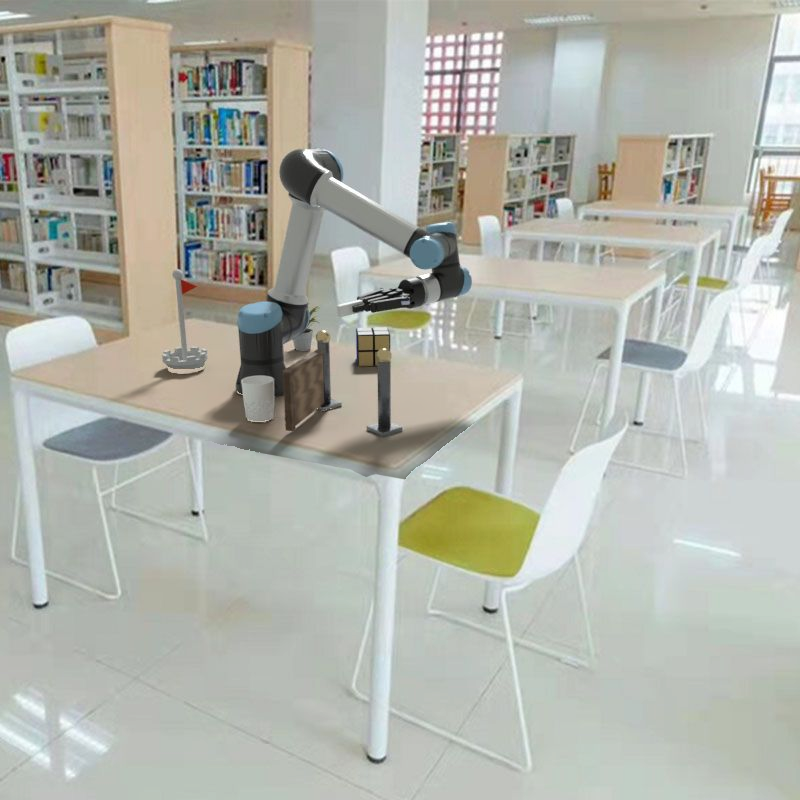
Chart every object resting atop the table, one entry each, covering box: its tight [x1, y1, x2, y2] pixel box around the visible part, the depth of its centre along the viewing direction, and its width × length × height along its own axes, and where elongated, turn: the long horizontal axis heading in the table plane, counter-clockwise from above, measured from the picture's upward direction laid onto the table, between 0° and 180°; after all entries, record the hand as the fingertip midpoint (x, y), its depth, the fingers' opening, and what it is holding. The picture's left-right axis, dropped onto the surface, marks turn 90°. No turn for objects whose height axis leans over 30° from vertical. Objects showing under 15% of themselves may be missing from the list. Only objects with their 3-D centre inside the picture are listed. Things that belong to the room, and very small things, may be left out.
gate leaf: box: [283, 349, 324, 432], centre depth 185 cm, size 20×2×14 cm, turn 163°
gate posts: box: [315, 329, 403, 438], centre depth 187 cm, size 30×6×20 cm, turn 41°
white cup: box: [241, 375, 275, 421], centre depth 188 cm, size 8×8×10 cm
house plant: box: [292, 302, 322, 352], centre depth 250 cm, size 14×14×16 cm
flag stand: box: [161, 269, 209, 369], centre depth 226 cm, size 13×13×30 cm
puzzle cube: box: [355, 326, 391, 368], centre depth 237 cm, size 10×10×10 cm
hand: (338, 311), depth 184 cm, fingers closed
